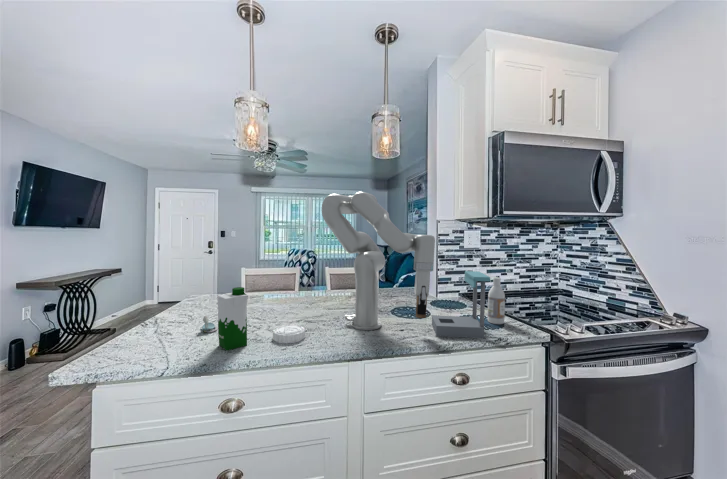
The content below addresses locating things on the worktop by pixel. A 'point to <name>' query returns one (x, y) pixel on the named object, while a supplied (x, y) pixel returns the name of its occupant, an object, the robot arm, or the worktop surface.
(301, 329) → the mooncake
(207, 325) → the pacifier
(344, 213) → the robot arm
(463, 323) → the socket block
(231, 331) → the milk carton
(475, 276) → the teal-topped post gate
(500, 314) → the bath foam
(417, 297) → the peg
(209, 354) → the worktop surface
